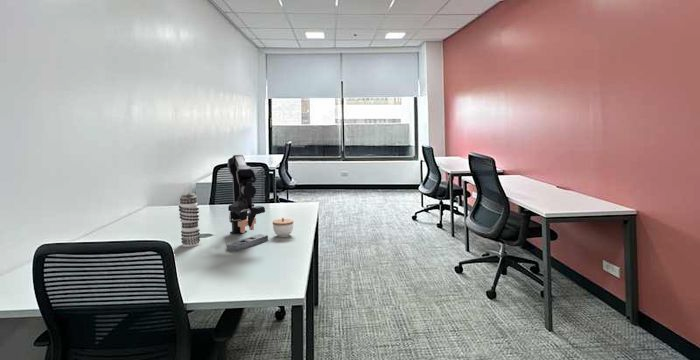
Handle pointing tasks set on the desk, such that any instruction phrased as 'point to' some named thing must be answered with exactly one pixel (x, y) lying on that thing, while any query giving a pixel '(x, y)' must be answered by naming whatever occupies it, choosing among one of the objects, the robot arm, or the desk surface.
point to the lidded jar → (283, 227)
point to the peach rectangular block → (245, 223)
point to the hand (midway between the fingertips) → (247, 226)
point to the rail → (247, 242)
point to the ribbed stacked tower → (189, 219)
